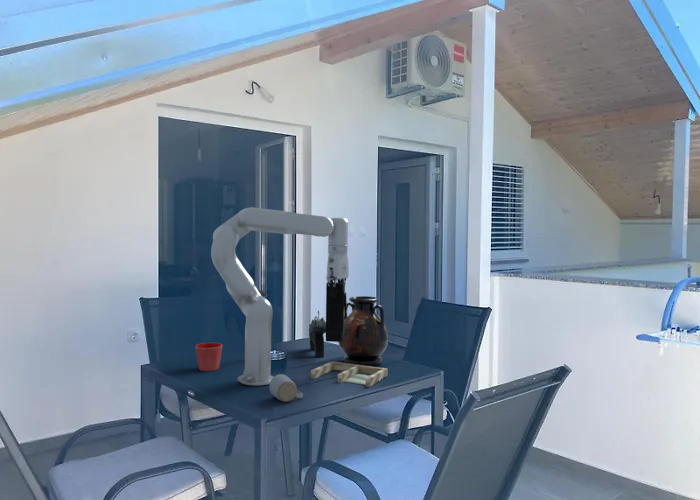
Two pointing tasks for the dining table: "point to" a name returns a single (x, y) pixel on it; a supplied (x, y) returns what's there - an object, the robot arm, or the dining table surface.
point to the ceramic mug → (284, 388)
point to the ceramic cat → (317, 336)
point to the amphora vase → (364, 332)
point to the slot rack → (352, 373)
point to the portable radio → (335, 314)
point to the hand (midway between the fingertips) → (336, 295)
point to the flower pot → (208, 356)
